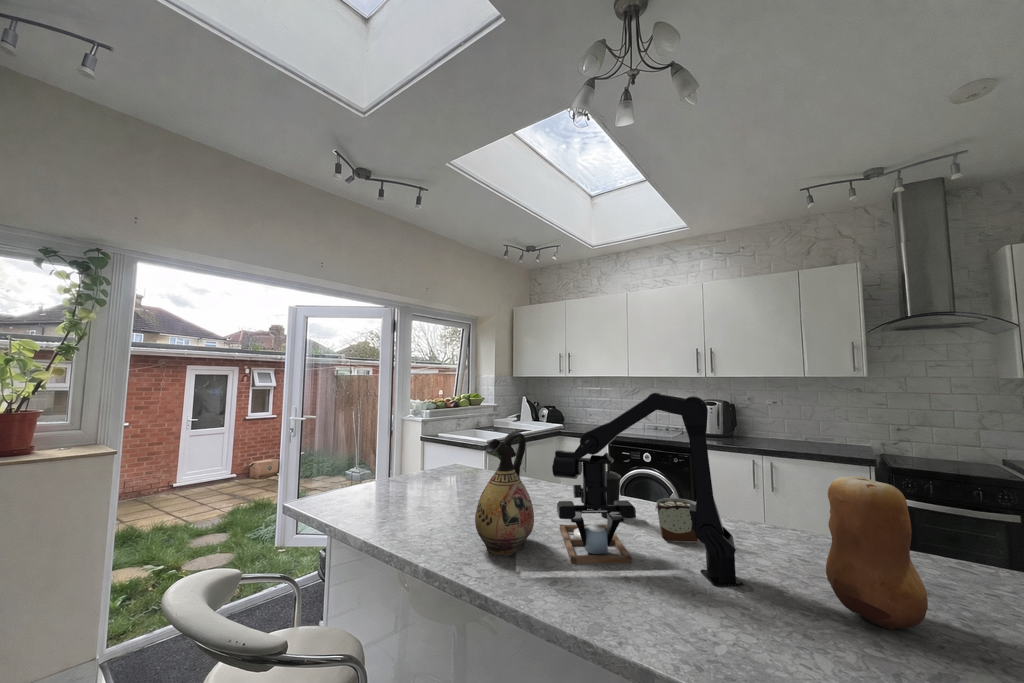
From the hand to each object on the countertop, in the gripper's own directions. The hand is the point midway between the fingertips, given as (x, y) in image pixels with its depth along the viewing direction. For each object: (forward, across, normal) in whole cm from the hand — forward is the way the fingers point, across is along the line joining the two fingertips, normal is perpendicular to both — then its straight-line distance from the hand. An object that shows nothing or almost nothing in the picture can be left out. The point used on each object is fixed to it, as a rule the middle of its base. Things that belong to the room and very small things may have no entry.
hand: (596, 545), depth 102 cm
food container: (+3, -25, -12) cm, 28 cm away
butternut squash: (+3, -45, +28) cm, 53 cm away
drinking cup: (+3, -10, -28) cm, 29 cm away
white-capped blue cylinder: (+1, 0, 0) cm, 1 cm away
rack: (+3, 0, -6) cm, 6 cm away
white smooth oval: (+2, 0, -11) cm, 11 cm away
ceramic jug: (+3, +22, -6) cm, 23 cm away
